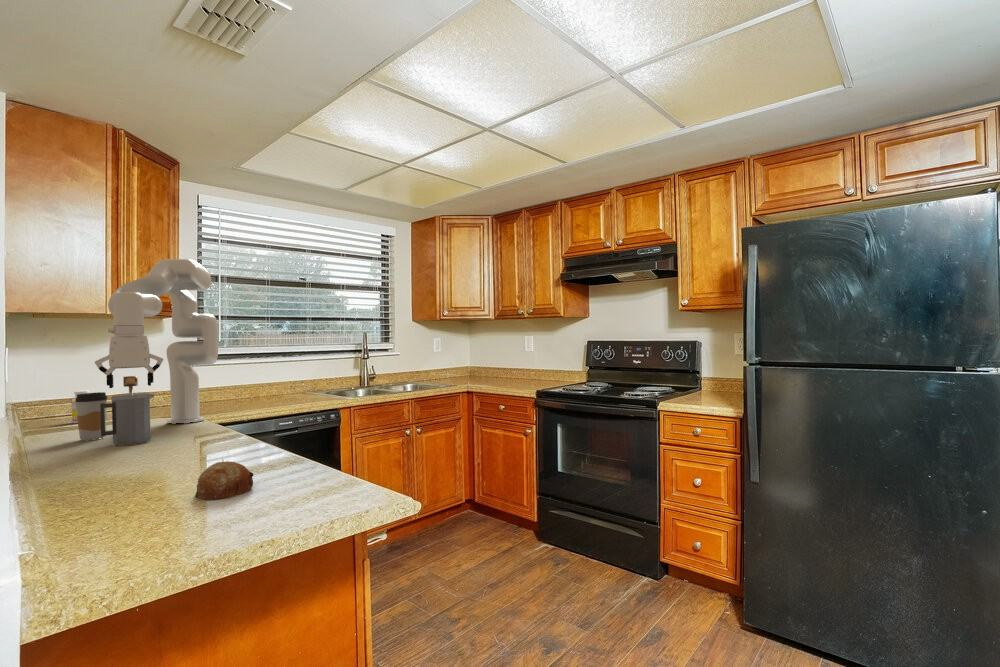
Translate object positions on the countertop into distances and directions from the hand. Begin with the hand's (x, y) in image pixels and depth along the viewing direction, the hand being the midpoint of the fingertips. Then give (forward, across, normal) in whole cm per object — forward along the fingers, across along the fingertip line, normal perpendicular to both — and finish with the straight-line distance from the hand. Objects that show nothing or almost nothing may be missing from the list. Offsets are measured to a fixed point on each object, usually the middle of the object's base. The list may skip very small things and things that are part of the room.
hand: (130, 386), depth 158 cm
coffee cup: (+18, -12, +18) cm, 28 cm away
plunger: (+16, 0, 0) cm, 16 cm away
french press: (+18, 0, 0) cm, 18 cm away
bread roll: (+18, +21, -80) cm, 85 cm away
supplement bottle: (+18, -22, +72) cm, 77 cm away
